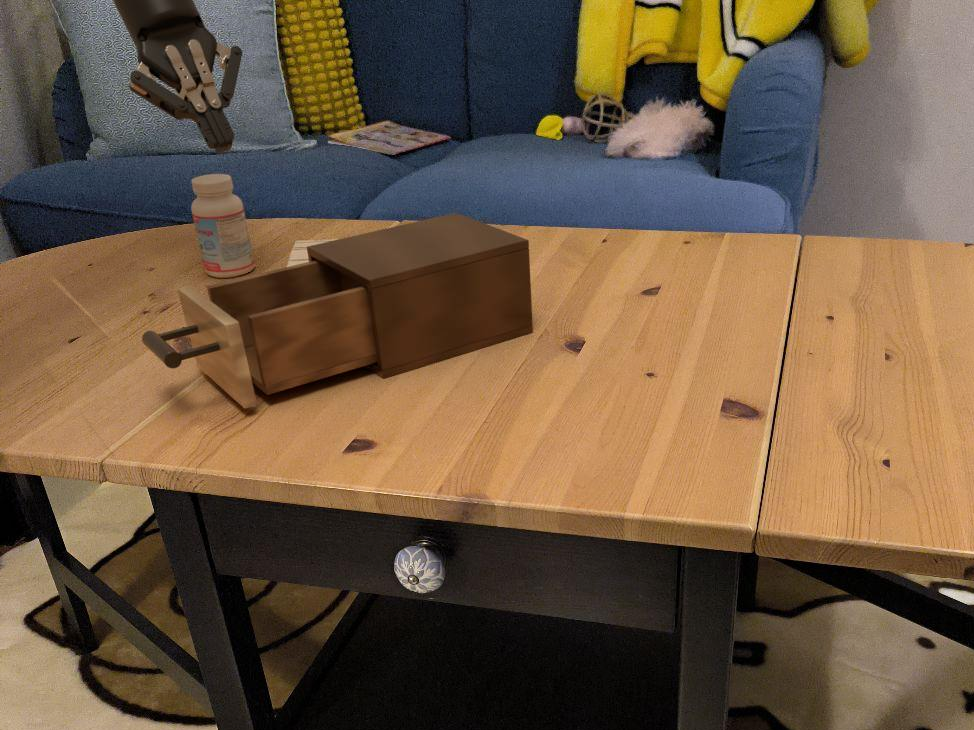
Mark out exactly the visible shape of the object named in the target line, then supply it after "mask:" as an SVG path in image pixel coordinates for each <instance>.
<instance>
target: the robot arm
mask: <svg viewBox="0 0 974 730" xmlns="http://www.w3.org/2000/svg"><path fill="white" fill-rule="evenodd" d="M112 2H113V4H114V6H115V8H116V10H117V12H118V14H119V16H120V18H121V21H122V22H123V24H124V26H125V28H126V30H127V32H128V34H129V36H130V39H131V40H132V42H133V44H134V47H136V51H137V52H136V53H137V62H138V66H137V68H136V70H133V71H131V73H130V77H129V83H128V89H129V90H130V91H131V92H132V93H134V94H136V95H137V96H138V97H140V98H142V99H143V100H145V101H147V102H148V103H150V104H152V105H153V106H154V107H156V108H158V109H159V110H161V111H163V112H164V113H166V114H167V115H169V116H171V118H174V119H175V120H177V121H182V120H183V119H187V120H192V121H194V122H195V124H196V125H197V128H198V129H199V131H200V133H201V136H202V138H203V140H204V142H205V144H206V146H207V147H208V148H209V149H210V150H214V151H215V153H216V154H220V153H224V152H227V151H230V150H231V149H232V147H233V141H234V140H235V132H234V130H233V128H232V126H231V125H230V121H229V120H228V118H227V115H226V114H225V111H224V109H226V108H229V107H230V105H231V101H232V99H233V97H234V95H235V90H236V86H237V81H238V76H239V71H240V67H241V62H242V58H243V50H242V49H241V48H240V46H238V45H233V46H232V47H228V46H226V45H223V44H221V43H218V41H217V39H216V37H215V35H214V34H213V32H211V31H209V29H207V27H206V25H205V24H204V21H203V19H202V17H201V14H200V12H199V10H198V8H197V5H196V3H195V2H194V0H112ZM216 57H217V59H218V66H219V67H220V68H221V69H222V70H224V71H223V75H222V81H221V86H220V91H219V92H218V91H217V88H216V86H215V85H216V84H215V80H214V76H213V72H214V66H215V59H216ZM156 79H158V80H159V81H160V82H161V83H163V84H165V85H166V86H168V87H170V88H172V89H173V90H174V92H175V93H174V92H172V91H171V90H169V89H167V88H166V87H165V86H163V85H161V84H160V83H158V82H157V80H156Z"/></svg>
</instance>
